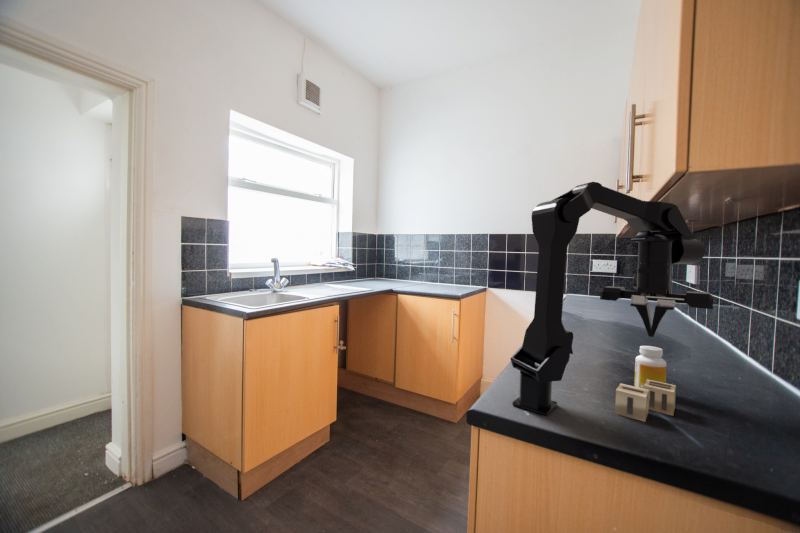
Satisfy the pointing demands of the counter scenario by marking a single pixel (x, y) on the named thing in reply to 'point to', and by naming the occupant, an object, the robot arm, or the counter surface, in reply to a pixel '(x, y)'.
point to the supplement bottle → (649, 366)
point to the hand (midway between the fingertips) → (651, 336)
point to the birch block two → (661, 396)
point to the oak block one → (632, 402)
